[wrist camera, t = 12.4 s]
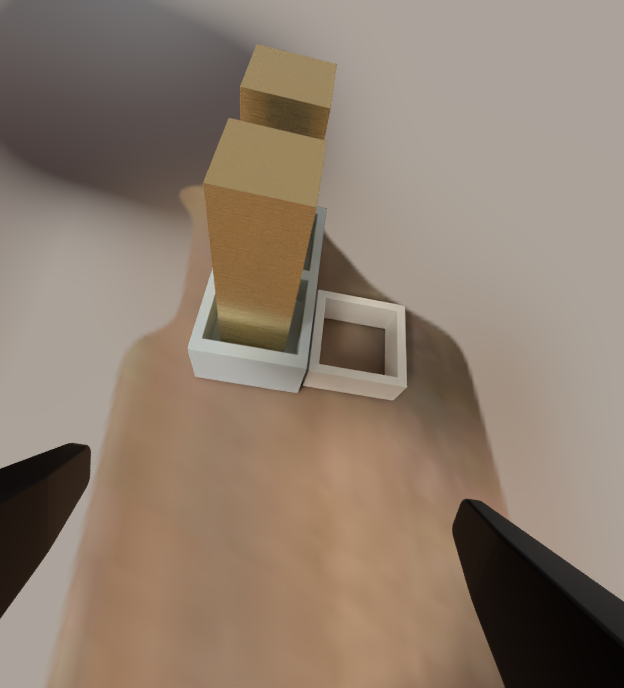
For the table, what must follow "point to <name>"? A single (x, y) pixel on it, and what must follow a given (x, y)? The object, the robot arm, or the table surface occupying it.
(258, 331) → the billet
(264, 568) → the table surface
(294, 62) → the seated billet
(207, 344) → the two-compartment pale blue organizer
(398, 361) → the box
